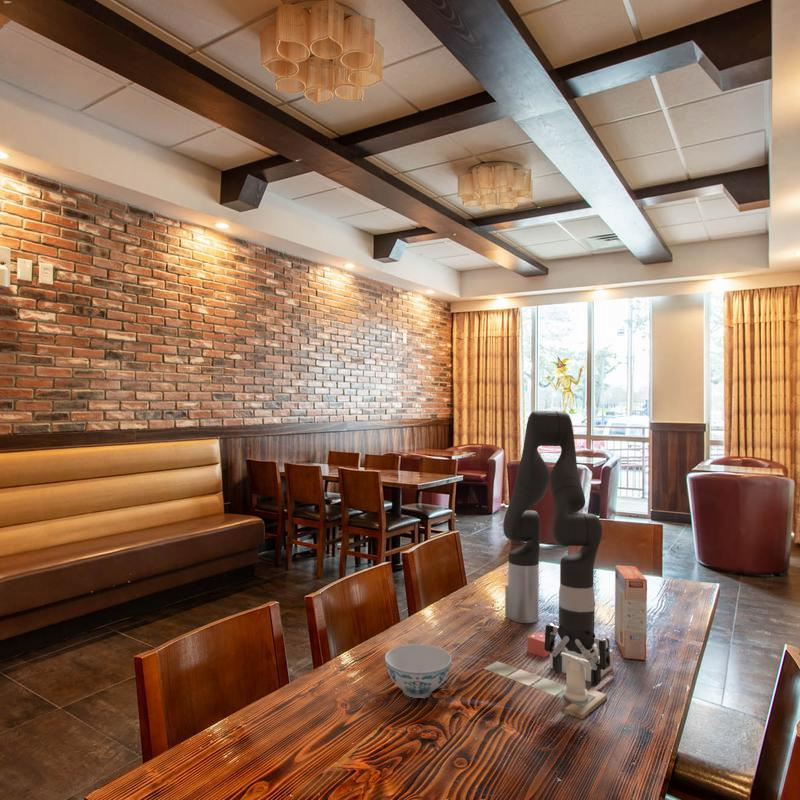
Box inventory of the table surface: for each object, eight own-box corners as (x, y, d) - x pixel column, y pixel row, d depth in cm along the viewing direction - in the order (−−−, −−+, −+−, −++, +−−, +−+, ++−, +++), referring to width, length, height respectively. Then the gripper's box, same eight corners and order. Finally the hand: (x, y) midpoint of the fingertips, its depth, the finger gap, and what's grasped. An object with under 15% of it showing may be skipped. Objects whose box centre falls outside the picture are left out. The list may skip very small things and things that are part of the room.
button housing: (549, 672, 140) (550, 649, 140) (571, 659, 148) (571, 637, 148) (593, 687, 132) (593, 663, 132) (613, 672, 140) (613, 649, 140)
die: (527, 656, 149) (527, 636, 149) (537, 650, 153) (537, 631, 153) (544, 661, 146) (544, 641, 146) (554, 656, 149) (554, 636, 149)
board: (471, 675, 137) (471, 670, 137) (499, 660, 146) (499, 655, 146) (582, 719, 118) (581, 713, 118) (606, 699, 127) (606, 693, 127)
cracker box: (647, 661, 147) (648, 579, 147) (623, 659, 148) (623, 577, 148) (636, 640, 160) (636, 565, 161) (614, 638, 162) (614, 564, 162)
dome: (558, 671, 140) (558, 638, 140) (573, 661, 145) (574, 629, 146) (589, 682, 134) (590, 648, 134) (604, 671, 140) (604, 638, 140)
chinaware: (460, 684, 133) (460, 651, 133) (436, 715, 119) (437, 677, 119) (401, 671, 139) (401, 639, 139) (372, 699, 126) (373, 663, 126)
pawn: (559, 696, 125) (559, 657, 125) (570, 688, 129) (570, 650, 129) (581, 704, 122) (581, 664, 122) (592, 696, 125) (592, 657, 126)
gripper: (538, 601, 128) (538, 674, 128) (600, 617, 118) (600, 696, 118) (555, 593, 134) (554, 663, 133) (615, 608, 124) (615, 684, 123)
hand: (576, 679), depth 125 cm, fingers open, 8 cm apart
